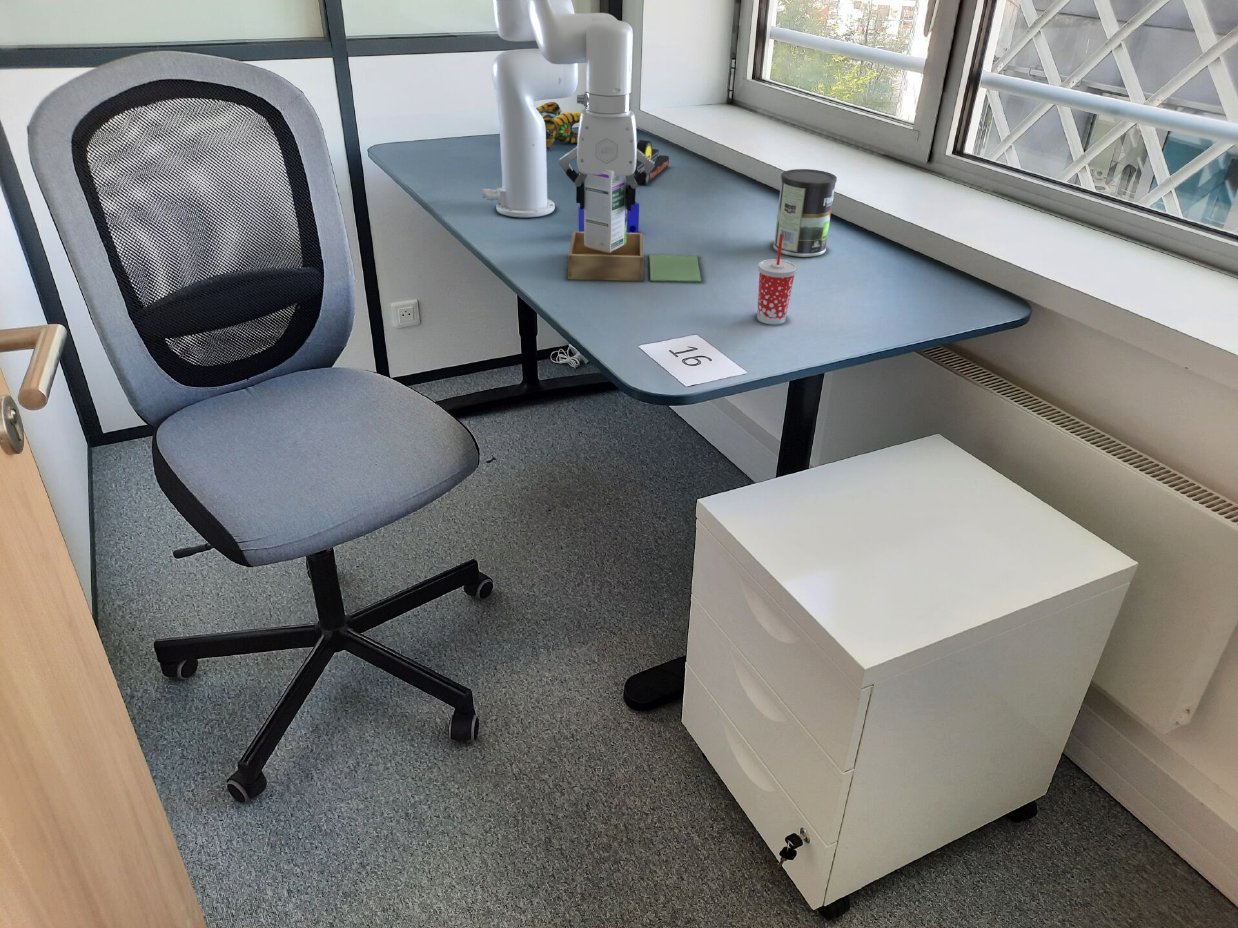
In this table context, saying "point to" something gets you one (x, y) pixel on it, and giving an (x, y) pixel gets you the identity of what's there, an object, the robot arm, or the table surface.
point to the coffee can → (804, 212)
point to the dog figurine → (558, 124)
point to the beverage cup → (775, 288)
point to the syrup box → (605, 211)
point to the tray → (606, 260)
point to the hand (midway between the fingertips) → (605, 207)
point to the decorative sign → (659, 161)
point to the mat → (674, 268)
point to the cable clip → (631, 219)
